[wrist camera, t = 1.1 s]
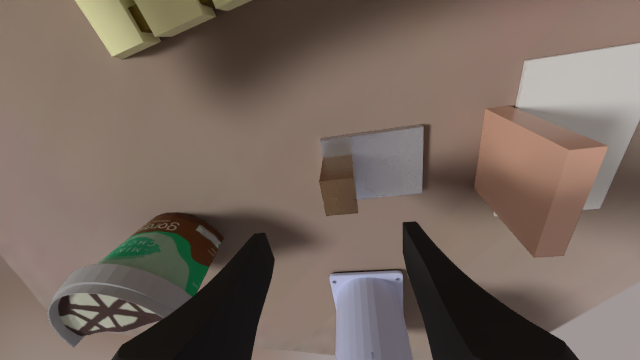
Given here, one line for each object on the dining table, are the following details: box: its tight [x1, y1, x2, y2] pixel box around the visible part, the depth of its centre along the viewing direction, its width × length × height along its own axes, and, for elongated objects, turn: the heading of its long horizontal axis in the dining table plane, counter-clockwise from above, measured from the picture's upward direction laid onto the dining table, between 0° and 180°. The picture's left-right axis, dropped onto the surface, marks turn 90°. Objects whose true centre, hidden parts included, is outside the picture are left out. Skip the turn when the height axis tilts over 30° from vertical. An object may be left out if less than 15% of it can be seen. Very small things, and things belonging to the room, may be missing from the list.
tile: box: [474, 106, 608, 257], centre depth 17 cm, size 7×2×8 cm, turn 9°
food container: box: [47, 213, 223, 347], centre depth 23 cm, size 12×6×10 cm, turn 112°
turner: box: [319, 124, 424, 216], centre depth 20 cm, size 8×6×5 cm
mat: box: [493, 42, 640, 216], centre depth 19 cm, size 13×8×1 cm, turn 10°
